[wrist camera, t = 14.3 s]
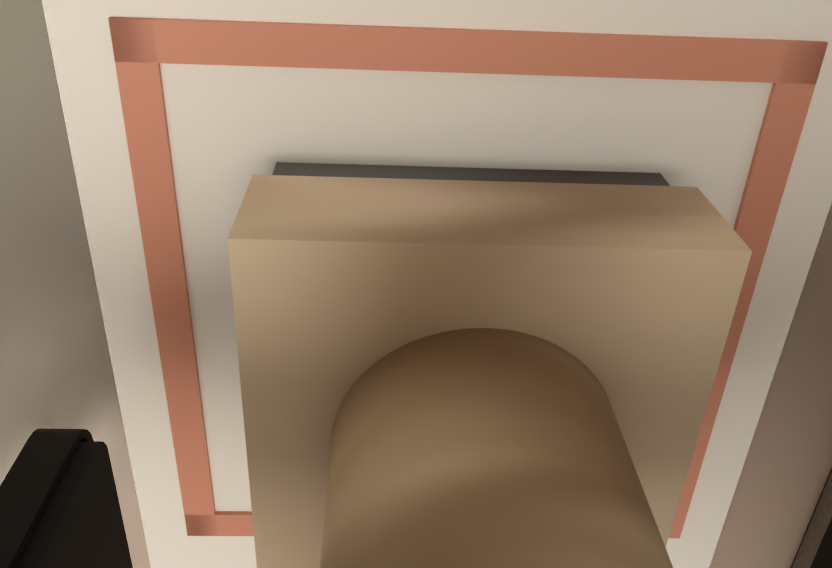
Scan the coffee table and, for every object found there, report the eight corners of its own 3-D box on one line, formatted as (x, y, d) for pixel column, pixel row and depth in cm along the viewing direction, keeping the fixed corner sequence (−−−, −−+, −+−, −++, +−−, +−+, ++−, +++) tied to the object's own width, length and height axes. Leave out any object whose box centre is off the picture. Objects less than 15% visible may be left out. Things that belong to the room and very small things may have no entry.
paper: (953, -189, 10) (968, -190, 10) (687, 615, 18) (692, 627, 18) (3, -235, 10) (-9, -237, 9) (163, 615, 18) (160, 627, 17)
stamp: (675, 161, 12) (1047, 594, 5) (608, 466, 15) (784, 984, 9) (262, 149, 12) (87, 592, 5) (281, 463, 15) (191, 996, 8)
